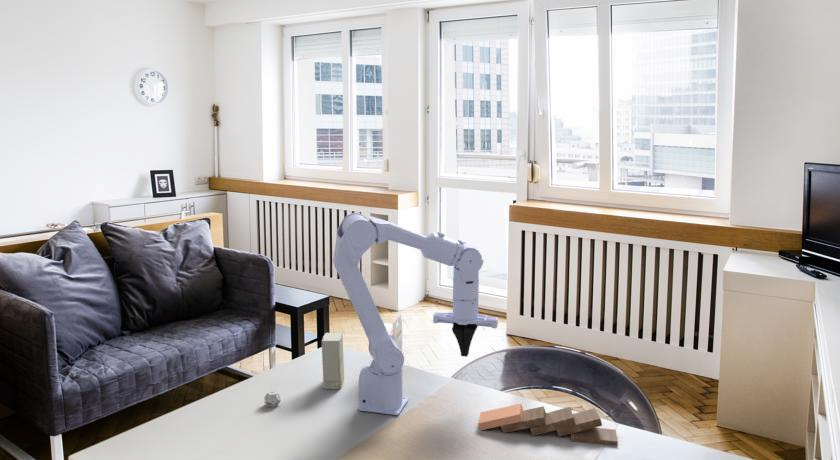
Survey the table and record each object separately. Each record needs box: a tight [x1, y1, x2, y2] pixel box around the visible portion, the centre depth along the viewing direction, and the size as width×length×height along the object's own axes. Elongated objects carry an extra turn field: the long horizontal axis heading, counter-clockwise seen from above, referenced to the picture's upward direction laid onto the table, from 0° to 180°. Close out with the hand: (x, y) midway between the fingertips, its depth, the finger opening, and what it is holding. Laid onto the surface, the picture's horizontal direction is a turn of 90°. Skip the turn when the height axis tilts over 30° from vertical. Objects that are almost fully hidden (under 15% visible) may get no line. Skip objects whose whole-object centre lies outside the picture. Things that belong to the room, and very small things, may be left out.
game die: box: [263, 390, 282, 408], centre depth 150 cm, size 4×4×3 cm
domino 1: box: [500, 406, 547, 434], centre depth 139 cm, size 2×5×9 cm
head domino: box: [477, 403, 524, 431], centre depth 140 cm, size 2×5×9 cm
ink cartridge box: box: [383, 313, 403, 353], centre depth 167 cm, size 9×5×15 cm, turn 168°
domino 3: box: [556, 408, 603, 438], centre depth 138 cm, size 2×5×9 cm
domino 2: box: [529, 406, 576, 437], centre depth 138 cm, size 2×5×9 cm
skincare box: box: [321, 332, 345, 390], centre depth 160 cm, size 6×4×12 cm
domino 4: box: [570, 427, 619, 447], centre depth 136 cm, size 2×5×9 cm
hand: (464, 354), depth 152 cm, fingers closed
